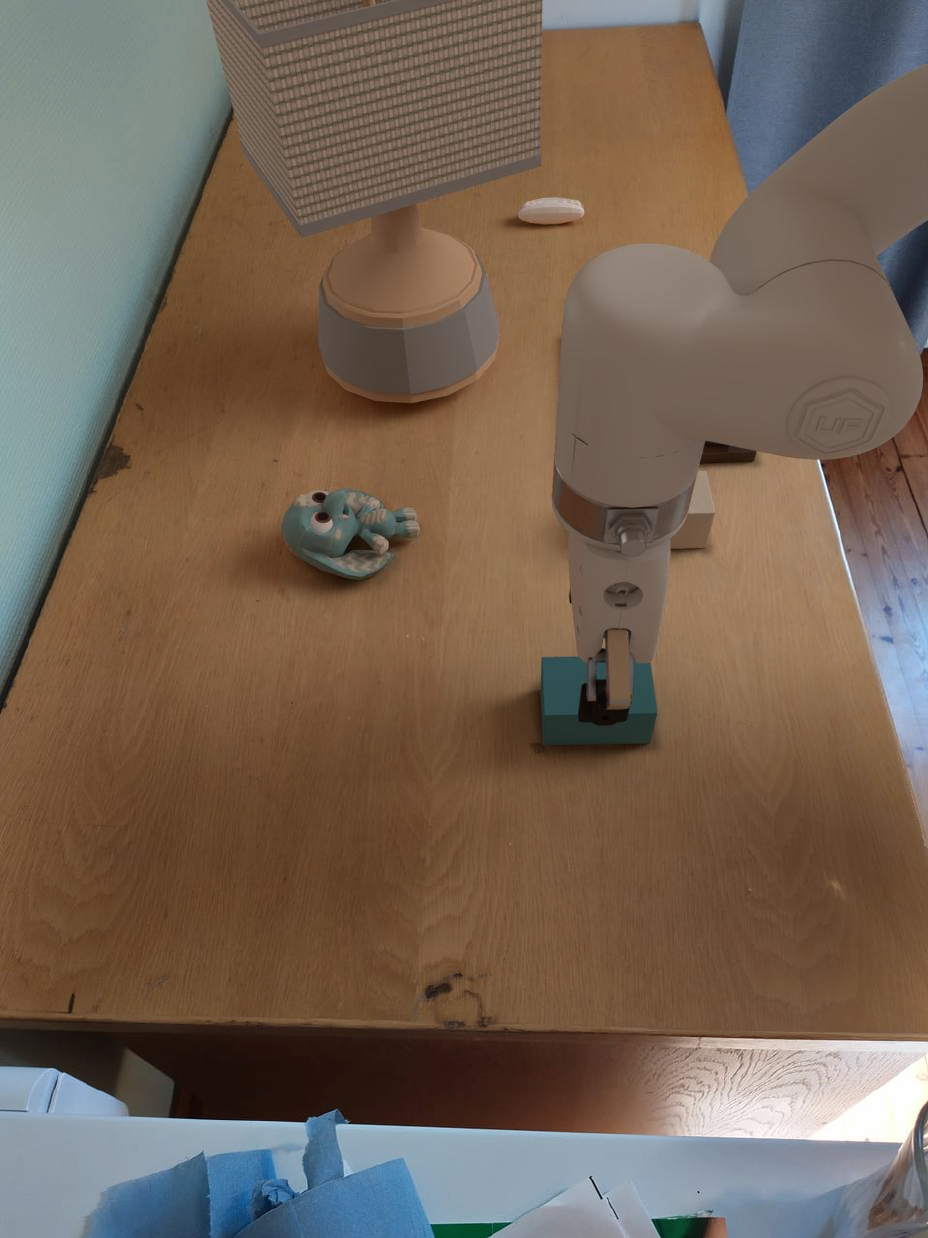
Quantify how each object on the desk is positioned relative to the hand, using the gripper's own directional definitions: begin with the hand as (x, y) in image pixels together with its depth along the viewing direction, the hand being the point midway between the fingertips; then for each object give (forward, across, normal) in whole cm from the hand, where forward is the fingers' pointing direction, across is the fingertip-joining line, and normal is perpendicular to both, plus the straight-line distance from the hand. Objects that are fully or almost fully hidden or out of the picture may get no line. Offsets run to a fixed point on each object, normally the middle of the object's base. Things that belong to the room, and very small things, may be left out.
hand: (596, 657), depth 62 cm
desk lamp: (+8, +44, +16) cm, 47 cm away
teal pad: (+8, 0, 0) cm, 8 cm away
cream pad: (+8, +19, -8) cm, 22 cm away
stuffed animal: (+8, +18, +20) cm, 28 cm away
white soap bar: (+8, +70, 0) cm, 70 cm away
